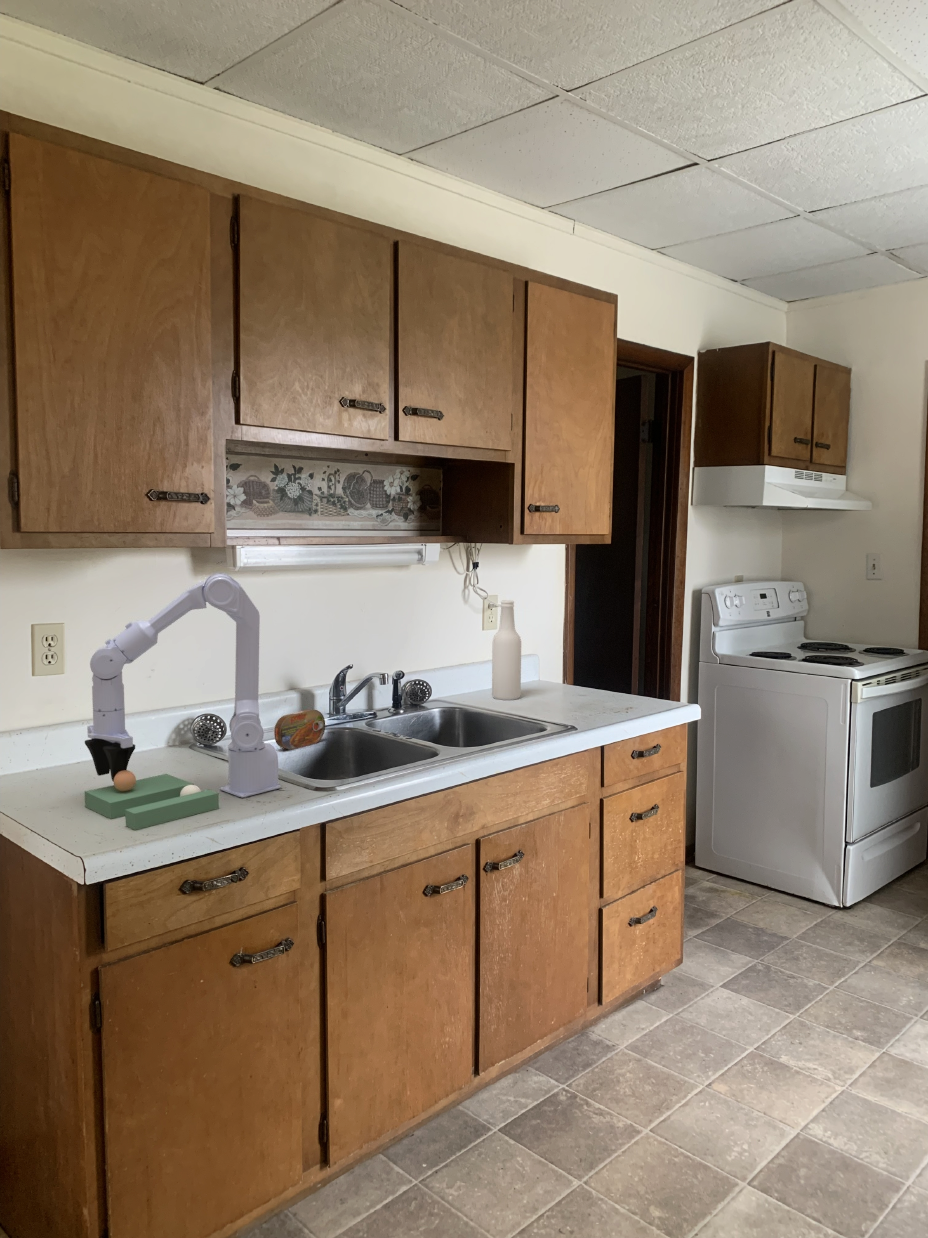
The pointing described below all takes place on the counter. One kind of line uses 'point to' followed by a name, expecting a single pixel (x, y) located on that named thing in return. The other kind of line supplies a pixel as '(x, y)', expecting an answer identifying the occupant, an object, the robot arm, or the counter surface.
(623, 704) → the counter surface
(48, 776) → the counter surface
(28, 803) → the counter surface
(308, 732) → the tin
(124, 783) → the terracotta ball
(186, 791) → the ivory ball
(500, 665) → the alcohol
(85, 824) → the counter surface
